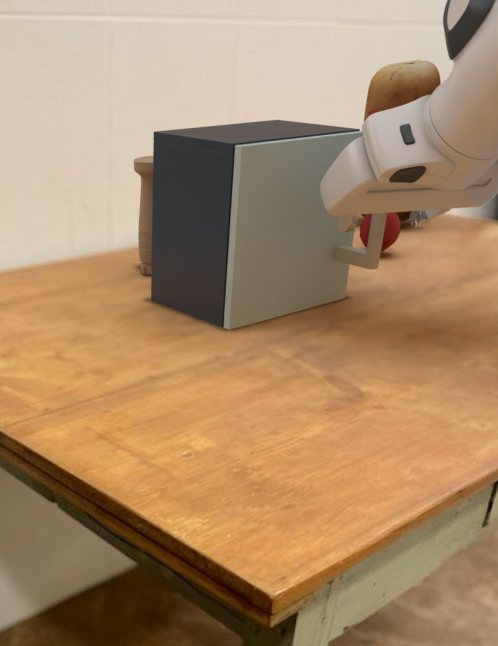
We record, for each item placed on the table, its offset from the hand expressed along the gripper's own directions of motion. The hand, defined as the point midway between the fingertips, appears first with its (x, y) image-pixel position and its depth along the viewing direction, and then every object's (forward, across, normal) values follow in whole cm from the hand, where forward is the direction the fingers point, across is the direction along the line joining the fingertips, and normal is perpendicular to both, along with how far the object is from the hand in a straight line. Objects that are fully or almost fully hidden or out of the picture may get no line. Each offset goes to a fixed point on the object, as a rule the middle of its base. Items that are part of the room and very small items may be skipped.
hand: (379, 224), depth 92 cm
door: (+8, +8, +8) cm, 13 cm away
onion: (+27, -18, -11) cm, 34 cm away
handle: (+27, +18, -11) cm, 34 cm away
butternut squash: (+40, -31, -24) cm, 56 cm away
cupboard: (+15, +11, +1) cm, 19 cm away
